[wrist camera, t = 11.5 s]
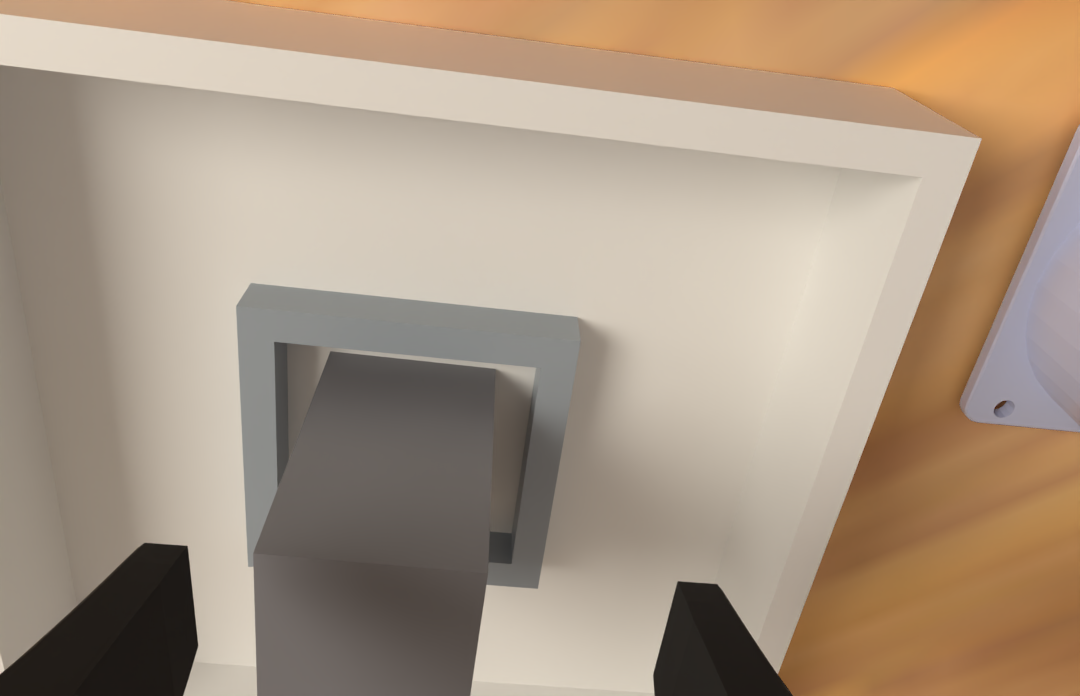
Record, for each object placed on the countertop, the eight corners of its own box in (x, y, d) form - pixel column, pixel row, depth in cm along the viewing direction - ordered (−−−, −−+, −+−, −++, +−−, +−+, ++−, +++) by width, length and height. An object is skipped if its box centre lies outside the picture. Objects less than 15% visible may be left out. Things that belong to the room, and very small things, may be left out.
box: (893, 87, 18) (981, 139, 15) (696, 700, 28) (722, 819, 24) (-65, -38, 17) (-219, -15, 13) (68, 658, 26) (0, 780, 23)
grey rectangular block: (495, 368, 21) (488, 573, 15) (478, 496, 23) (465, 724, 17) (330, 351, 21) (253, 553, 15) (327, 482, 23) (257, 710, 16)
